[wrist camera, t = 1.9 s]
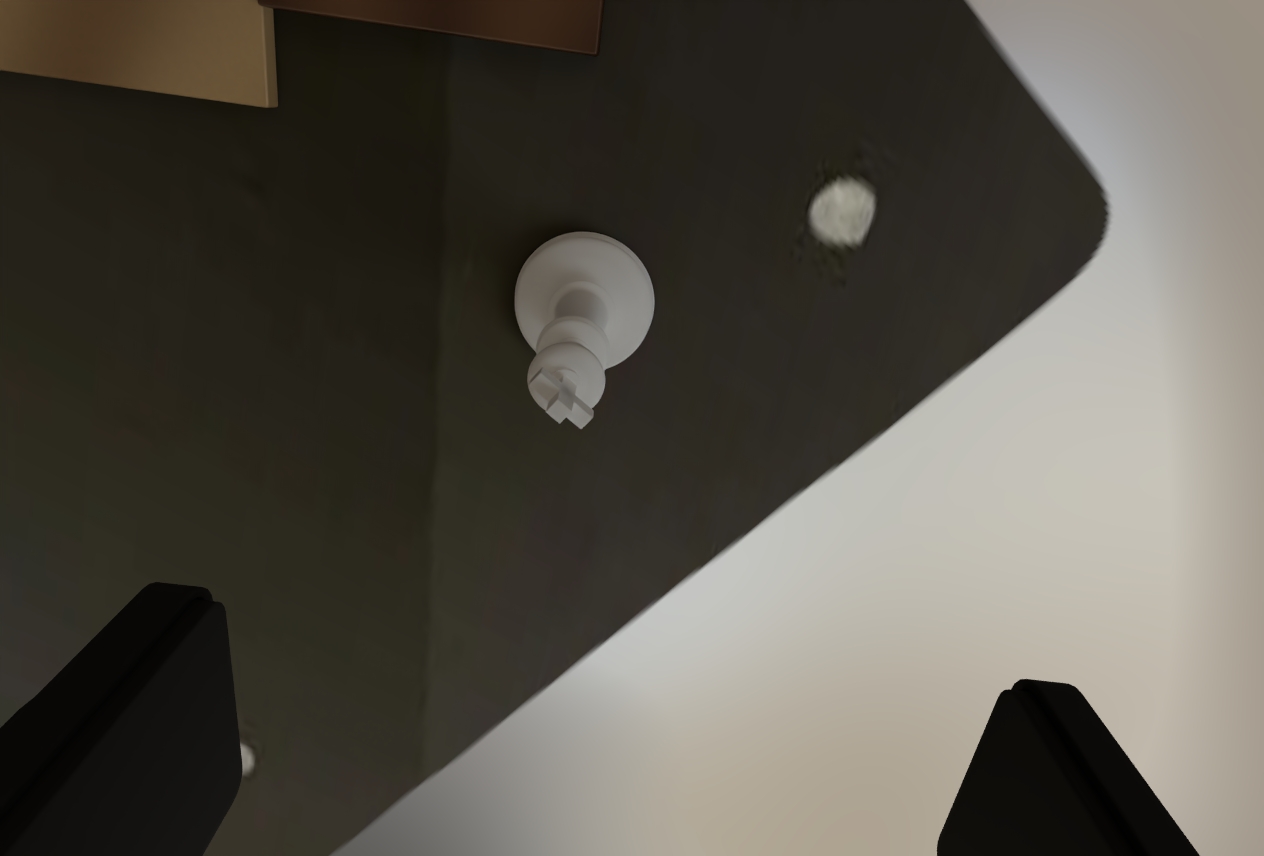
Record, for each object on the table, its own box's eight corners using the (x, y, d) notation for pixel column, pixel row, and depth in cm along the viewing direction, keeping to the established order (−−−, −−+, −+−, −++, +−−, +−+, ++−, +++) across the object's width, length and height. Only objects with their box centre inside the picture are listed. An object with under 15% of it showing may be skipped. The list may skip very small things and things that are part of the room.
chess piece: (579, 200, 26) (548, 262, 16) (683, 300, 27) (707, 408, 18) (486, 304, 27) (410, 414, 18) (589, 393, 28) (567, 538, 19)
